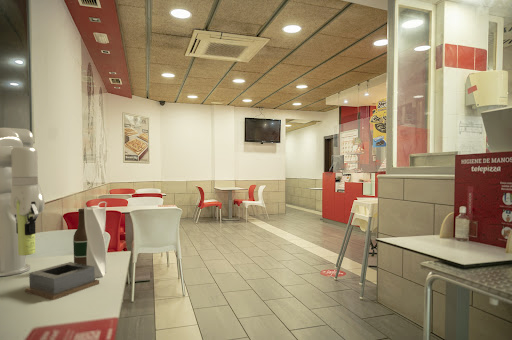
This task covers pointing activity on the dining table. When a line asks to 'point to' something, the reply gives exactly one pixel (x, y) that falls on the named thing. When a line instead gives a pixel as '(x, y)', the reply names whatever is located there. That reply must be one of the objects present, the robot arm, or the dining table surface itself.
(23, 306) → the dining table surface
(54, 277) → the grey open tray box
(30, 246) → the tube
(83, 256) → the beer bottle
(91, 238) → the skyscraper
